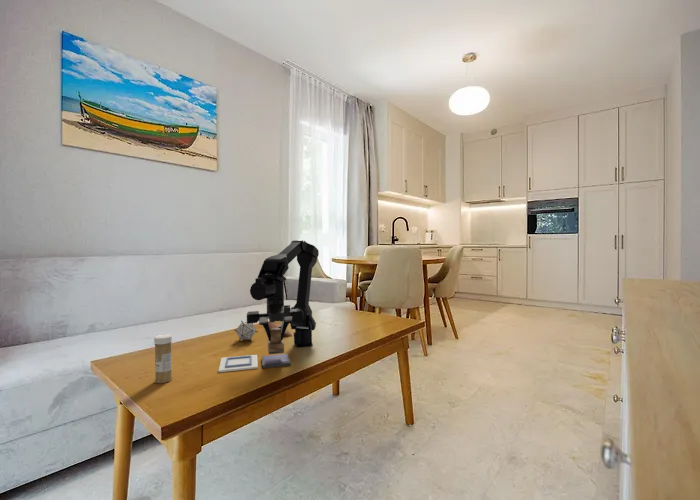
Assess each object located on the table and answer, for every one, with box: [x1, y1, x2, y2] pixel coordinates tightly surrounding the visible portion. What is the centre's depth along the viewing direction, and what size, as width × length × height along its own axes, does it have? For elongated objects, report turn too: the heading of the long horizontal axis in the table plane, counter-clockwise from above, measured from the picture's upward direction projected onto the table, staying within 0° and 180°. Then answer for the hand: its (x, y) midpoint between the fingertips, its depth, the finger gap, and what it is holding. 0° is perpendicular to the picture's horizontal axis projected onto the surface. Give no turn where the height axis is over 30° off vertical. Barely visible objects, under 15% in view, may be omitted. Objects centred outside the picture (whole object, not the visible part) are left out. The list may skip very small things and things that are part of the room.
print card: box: [217, 354, 259, 373], centre depth 115 cm, size 12×12×1 cm
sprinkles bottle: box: [153, 333, 173, 384], centre depth 101 cm, size 5×5×13 cm
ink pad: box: [261, 353, 292, 369], centre depth 116 cm, size 9×9×1 cm
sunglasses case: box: [268, 321, 293, 339], centre depth 153 cm, size 18×7×7 cm
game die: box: [233, 320, 259, 342], centre depth 141 cm, size 9×8×10 cm
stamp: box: [267, 328, 285, 355], centre depth 116 cm, size 5×5×8 cm
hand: (275, 340), depth 116 cm, fingers closed on stamp, 4 cm apart
